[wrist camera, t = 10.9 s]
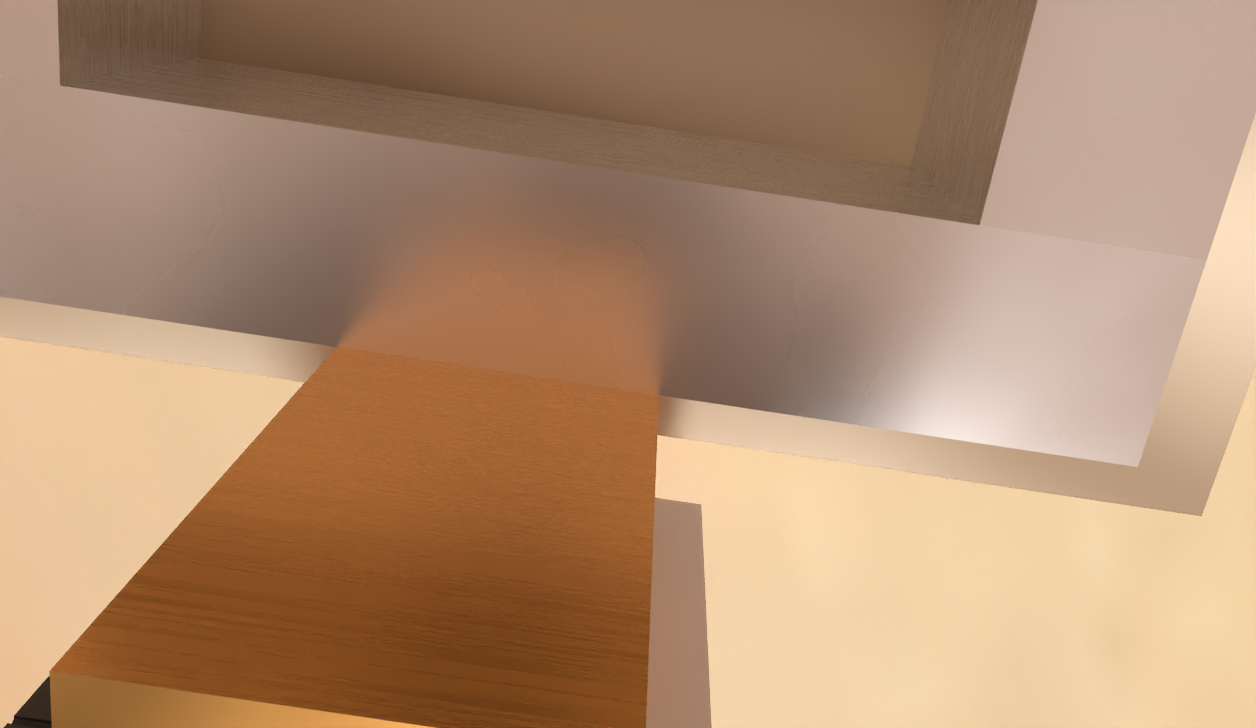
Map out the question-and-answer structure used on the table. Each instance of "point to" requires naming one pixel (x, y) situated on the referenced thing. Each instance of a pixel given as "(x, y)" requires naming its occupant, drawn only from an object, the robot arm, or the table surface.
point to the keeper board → (729, 108)
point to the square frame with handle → (577, 328)
